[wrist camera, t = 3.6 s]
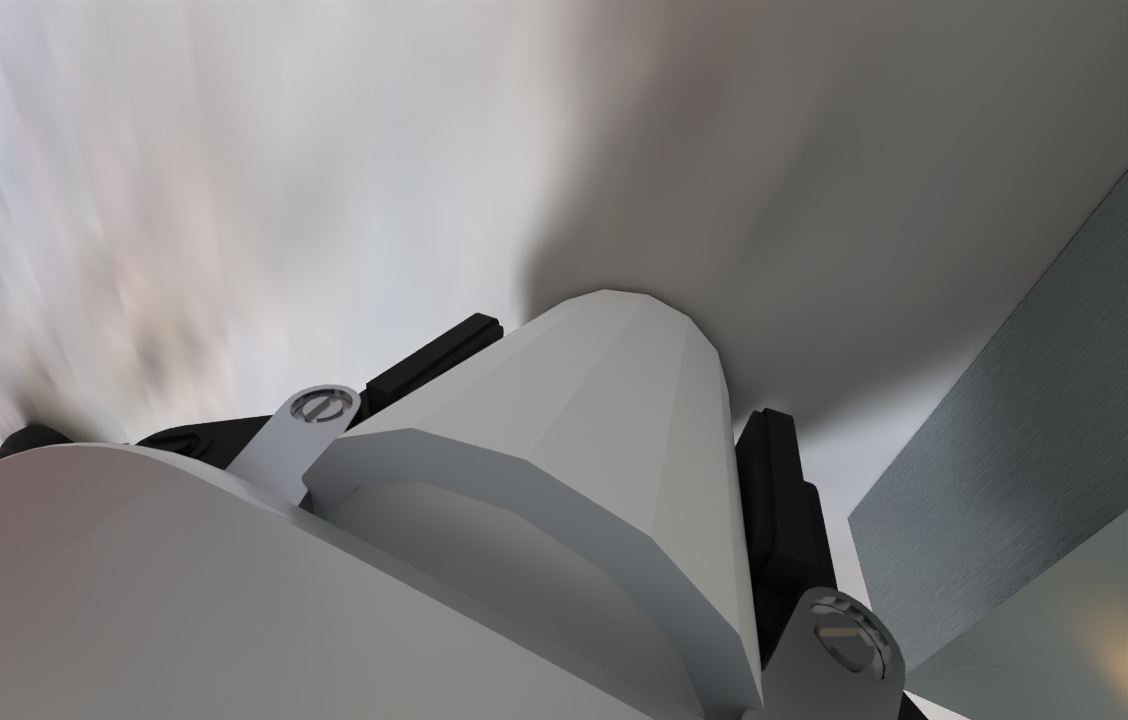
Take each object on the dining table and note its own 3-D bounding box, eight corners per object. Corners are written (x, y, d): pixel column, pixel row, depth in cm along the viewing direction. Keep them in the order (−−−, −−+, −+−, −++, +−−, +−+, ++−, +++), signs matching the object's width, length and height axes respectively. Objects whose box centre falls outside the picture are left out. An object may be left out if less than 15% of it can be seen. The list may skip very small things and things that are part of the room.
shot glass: (591, 202, 9) (347, 302, 4) (824, 393, 9) (946, 794, 4) (473, 383, 13) (265, 569, 8) (637, 518, 13) (554, 806, 8)
